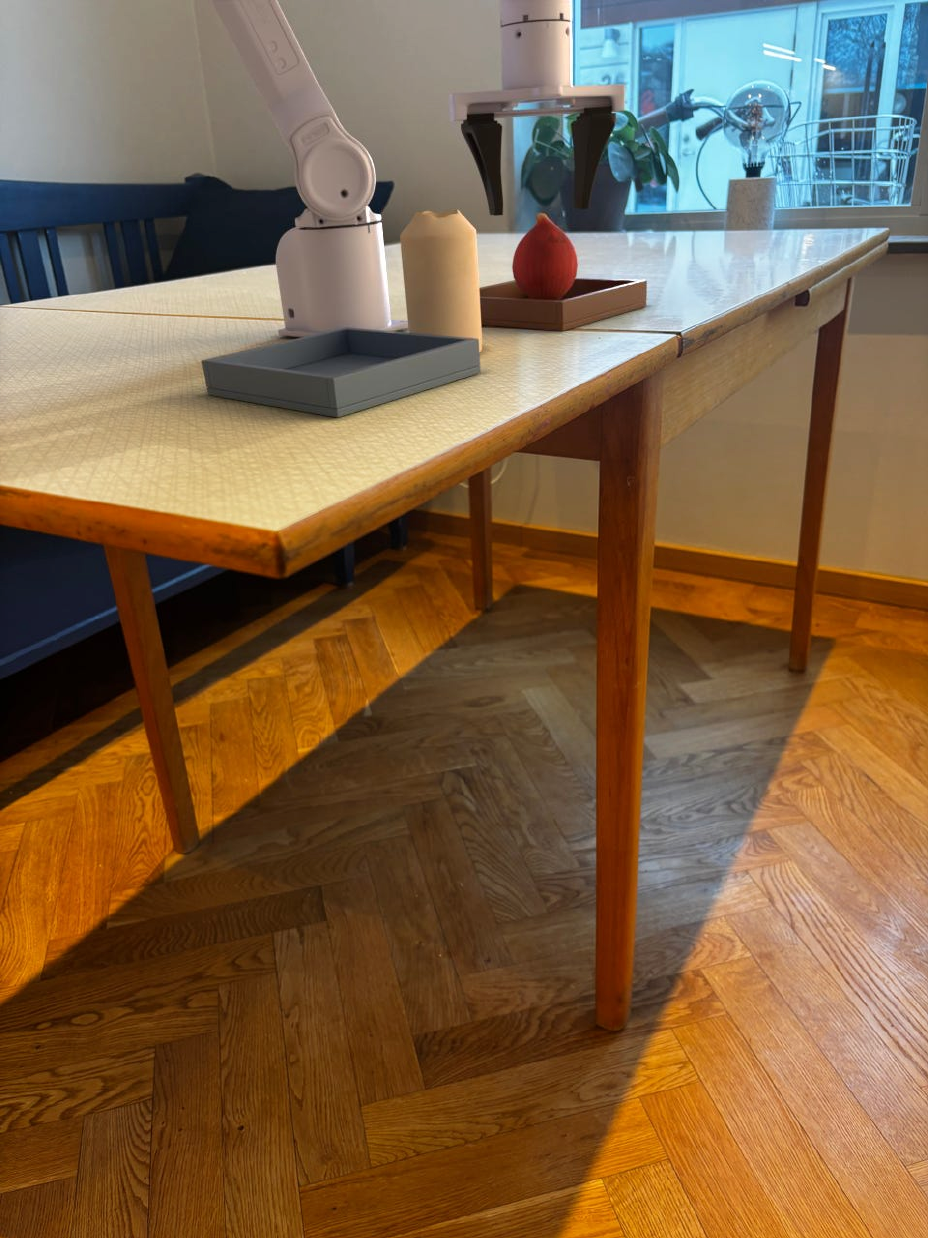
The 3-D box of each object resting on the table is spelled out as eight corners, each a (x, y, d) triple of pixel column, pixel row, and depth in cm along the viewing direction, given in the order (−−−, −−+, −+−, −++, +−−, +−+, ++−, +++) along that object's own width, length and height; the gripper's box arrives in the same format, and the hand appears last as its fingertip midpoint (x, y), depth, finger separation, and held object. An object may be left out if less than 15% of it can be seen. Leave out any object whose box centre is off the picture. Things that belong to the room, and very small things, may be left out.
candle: (429, 363, 66) (417, 214, 62) (399, 353, 71) (386, 212, 66) (495, 352, 69) (488, 207, 64) (462, 342, 73) (453, 206, 69)
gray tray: (207, 394, 62) (200, 360, 61) (350, 357, 71) (346, 326, 70) (337, 417, 54) (333, 378, 53) (481, 372, 63) (479, 338, 62)
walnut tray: (443, 322, 83) (441, 295, 82) (531, 300, 92) (530, 276, 91) (562, 331, 75) (562, 301, 74) (646, 306, 84) (647, 279, 83)
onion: (577, 302, 85) (577, 208, 82) (578, 311, 80) (578, 212, 77) (515, 305, 86) (512, 212, 82) (512, 315, 81) (508, 216, 77)
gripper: (456, 22, 68) (466, 219, 74) (640, 14, 71) (635, 207, 77) (440, 34, 75) (450, 216, 81) (609, 27, 77) (607, 204, 83)
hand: (539, 211), depth 79 cm, fingers open, 7 cm apart
